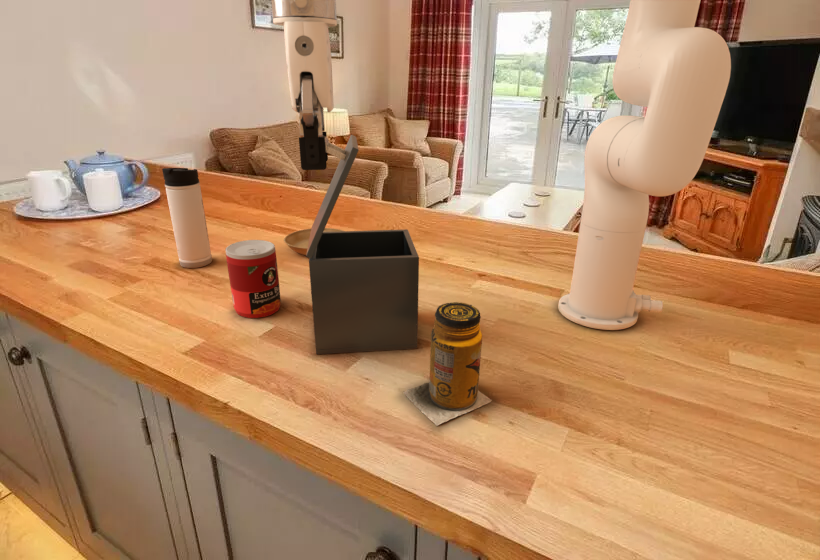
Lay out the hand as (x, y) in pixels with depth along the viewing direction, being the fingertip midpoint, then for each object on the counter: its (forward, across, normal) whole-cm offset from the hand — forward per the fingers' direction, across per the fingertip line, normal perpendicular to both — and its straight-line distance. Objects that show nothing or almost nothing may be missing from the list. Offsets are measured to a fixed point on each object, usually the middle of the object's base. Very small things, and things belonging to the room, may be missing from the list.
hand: (315, 163), depth 66 cm
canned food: (+26, +10, +12) cm, 30 cm away
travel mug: (+26, +33, +28) cm, 50 cm away
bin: (+26, 0, -6) cm, 26 cm away
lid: (+4, 0, -2) cm, 5 cm away
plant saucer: (+26, +40, +3) cm, 47 cm away
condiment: (+26, -18, -15) cm, 35 cm away
